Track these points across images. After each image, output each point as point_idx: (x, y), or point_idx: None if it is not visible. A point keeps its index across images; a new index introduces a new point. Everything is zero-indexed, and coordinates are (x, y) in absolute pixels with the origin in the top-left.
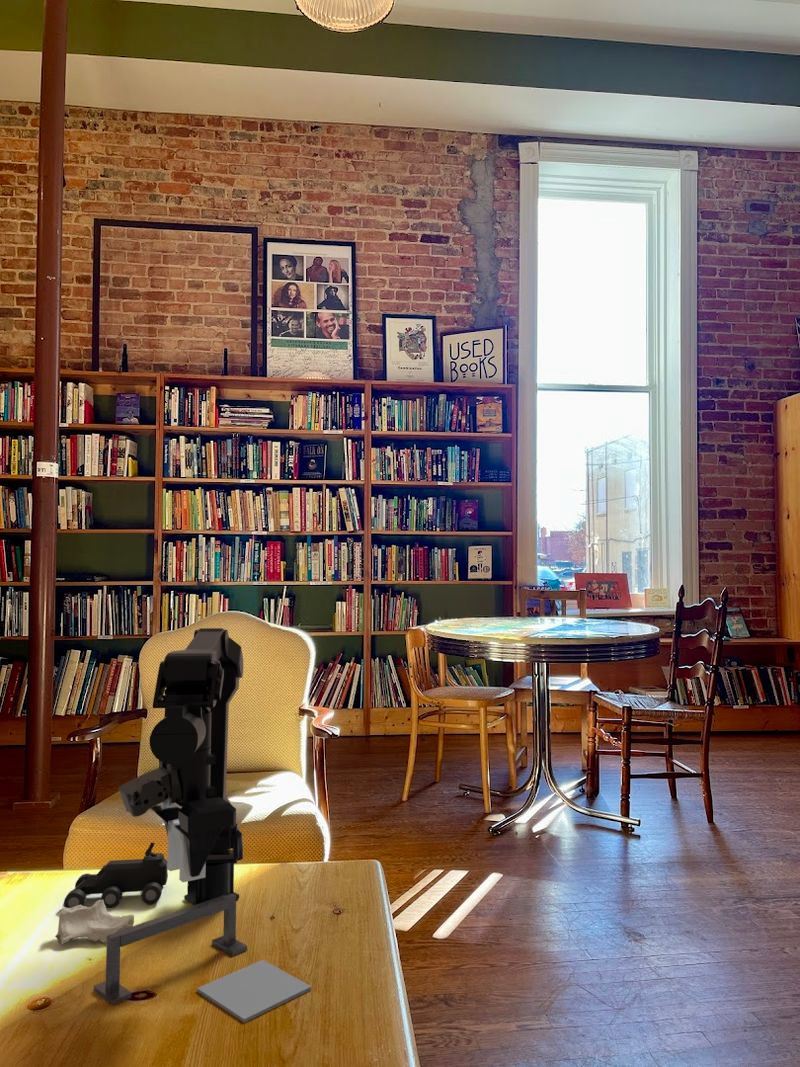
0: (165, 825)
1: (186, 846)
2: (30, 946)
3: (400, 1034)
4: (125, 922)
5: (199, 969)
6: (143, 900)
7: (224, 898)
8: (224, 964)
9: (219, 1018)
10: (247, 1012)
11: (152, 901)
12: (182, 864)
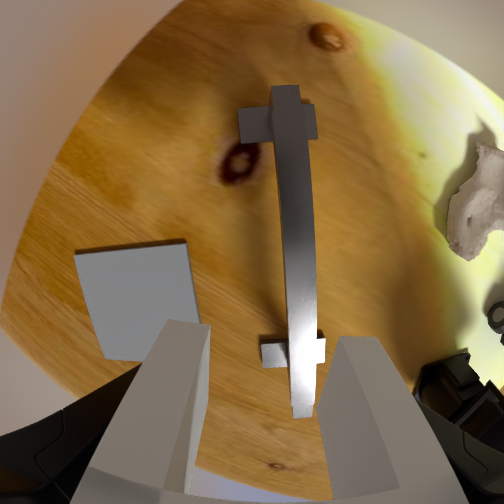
0: (499, 461)
1: (81, 444)
2: (495, 119)
3: (19, 349)
4: (459, 237)
5: (257, 281)
6: (500, 302)
7: (297, 399)
8: (244, 319)
9: (100, 233)
10: (84, 267)
11: (491, 312)
12: (150, 367)
